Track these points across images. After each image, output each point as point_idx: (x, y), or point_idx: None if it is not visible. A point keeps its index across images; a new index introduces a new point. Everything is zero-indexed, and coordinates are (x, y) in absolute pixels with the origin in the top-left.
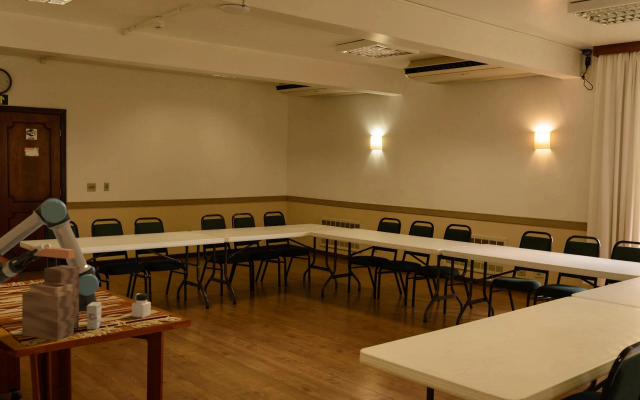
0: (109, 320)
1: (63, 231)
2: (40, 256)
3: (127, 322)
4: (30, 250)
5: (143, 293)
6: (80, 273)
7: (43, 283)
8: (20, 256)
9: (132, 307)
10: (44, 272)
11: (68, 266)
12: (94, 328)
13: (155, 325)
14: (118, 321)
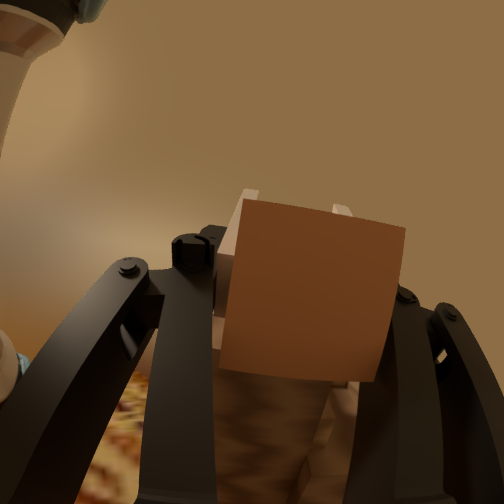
0: (105, 437)
1: (17, 94)
2: (115, 389)
3: (123, 409)
4: (386, 294)
5: None
6: (18, 369)
7: (333, 422)
8: (494, 407)
9: None
10: (331, 384)
11: (216, 328)
12: None
13: (143, 378)
14: (114, 422)
